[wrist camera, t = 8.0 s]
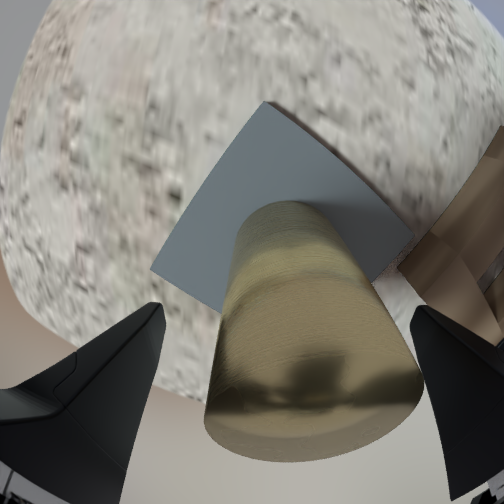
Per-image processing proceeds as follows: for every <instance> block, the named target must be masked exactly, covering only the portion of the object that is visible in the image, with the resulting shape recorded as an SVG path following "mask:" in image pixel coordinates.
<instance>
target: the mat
mask: <svg viewBox="0 0 504 504" xmlns="http://www.w3.org/2000/svg"><path fill="white" fill-rule="evenodd" d="M287 200H289V201H298V202H303V203H306V204H309V205H311V206H313V207H315V208H316V209H318V210H319V211H320V212H322V213H323V214H324V215H325V216H326V217H327V219H328V220H329V221H330V223H331V224H332V225H333V227H334V228H335V230H336V231H337V233H338V234H339V235H340V237H341V238H342V240H343V241H344V243H345V244H346V246H347V247H348V249H349V250H350V252H351V253H352V255H353V256H354V258H355V259H356V261H357V262H358V264H359V265H360V267H361V268H362V270H363V271H364V273H365V274H366V276H367V278H368V279H369V281H370V282H371V283H372V282H373V281H374V280H375V279H376V278H377V277H378V276H379V275H380V274H381V272H382V271H383V270H384V269H385V268H386V267H387V266H388V265H389V264H390V263H391V262H392V261H393V260H394V258H395V257H396V256H397V255H398V254H399V253H400V252H401V251H402V250H403V248H404V247H405V246H406V245H407V244H408V243H409V242H410V240H411V239H412V238H413V237H414V236H415V235H414V234H413V233H412V231H411V230H410V229H409V228H408V227H407V226H406V225H405V224H404V223H403V221H402V220H401V219H400V218H399V217H398V216H397V215H396V214H395V213H394V212H393V211H392V210H391V209H390V208H389V207H388V205H387V204H386V203H385V202H384V201H383V200H382V199H381V198H380V197H379V196H378V195H377V194H376V193H375V192H374V191H373V190H372V189H371V188H370V187H369V186H368V185H366V184H365V183H364V182H363V181H362V180H361V179H360V178H359V177H358V176H357V175H356V174H355V173H354V172H353V171H352V170H350V169H349V168H348V167H347V166H346V165H345V164H344V163H343V162H342V161H340V160H339V159H338V158H337V157H336V156H335V155H334V154H332V153H331V152H330V151H329V150H328V149H327V148H325V147H324V146H323V145H322V144H321V143H319V142H318V141H317V140H316V139H314V138H313V137H312V136H311V135H309V134H308V133H307V132H306V131H304V130H303V129H302V128H301V127H299V126H298V125H297V124H295V123H294V122H293V121H291V120H290V119H289V118H287V117H286V116H285V115H283V114H282V113H281V112H279V111H278V110H276V109H275V108H274V107H272V106H271V105H269V104H268V103H267V102H265V101H263V103H262V104H261V105H260V106H259V108H258V109H257V110H256V111H255V113H254V114H253V115H252V117H251V118H250V119H249V120H248V122H247V123H246V124H245V126H244V127H243V128H242V130H241V131H240V132H239V134H238V135H237V136H236V138H235V139H234V140H233V142H232V143H231V144H230V146H229V147H228V148H227V150H226V151H225V153H224V154H223V155H222V157H221V158H220V160H219V161H218V162H217V164H216V165H215V167H214V168H213V170H212V171H211V172H210V174H209V175H208V177H207V178H206V180H205V181H204V183H203V184H202V186H201V187H200V189H199V190H198V192H197V193H196V195H195V196H194V198H193V199H192V201H191V202H190V204H189V205H188V207H187V208H186V210H185V211H184V213H183V215H182V216H181V218H180V219H179V221H178V222H177V224H176V226H175V227H174V229H173V231H172V232H171V234H170V235H169V237H168V239H167V240H166V242H165V244H164V245H163V247H162V249H161V250H160V252H159V254H158V255H157V257H156V259H155V261H154V262H153V264H152V266H151V268H150V270H151V271H153V272H154V273H156V274H157V275H159V276H161V277H162V278H164V279H165V280H167V281H168V282H170V283H171V284H173V285H175V286H176V287H178V288H179V289H181V290H183V291H184V292H186V293H187V294H189V295H191V296H192V297H194V298H196V299H197V300H199V301H201V302H202V303H204V304H206V305H207V306H209V307H211V308H212V309H214V310H216V311H217V312H219V313H221V314H222V308H223V303H224V297H225V292H226V287H227V281H228V276H229V270H230V265H231V260H232V255H233V249H234V244H235V239H236V236H237V233H238V231H239V229H240V227H241V225H242V224H243V222H244V221H245V220H246V219H247V218H248V216H250V215H251V214H252V213H253V212H254V211H256V210H257V209H259V208H261V207H263V206H265V205H267V204H270V203H273V202H277V201H287Z"/></svg>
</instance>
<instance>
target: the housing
mask: <svg viewBox="0 0 504 504" xmlns="http://www.w3.org/2000/svg"><path fill="white" fill-rule="evenodd" d="M503 247H504V126H500V128H499V130H498V132H497V133H496V135H495V137H494V139H493V140H492V142H491V144H490V145H489V147H488V149H487V150H486V152H485V154H484V155H483V157H482V159H481V160H480V162H479V163H478V165H477V166H476V168H475V169H474V171H473V172H472V174H471V175H470V177H469V178H468V180H467V181H466V183H465V184H464V186H463V187H462V188H461V190H460V191H459V193H458V194H457V195H456V197H455V198H454V199H453V201H452V202H451V204H450V205H449V206H448V207H447V209H446V210H445V211H444V213H443V214H442V215H441V217H440V218H439V219H438V220H437V222H436V223H435V224H434V225H433V227H432V228H431V229H430V230H429V232H428V233H427V234H426V235H425V236H424V238H423V239H422V240H421V241H420V242H419V243H418V245H417V246H416V247H415V248H414V249H413V250H412V251H411V253H410V254H409V255H408V256H407V257H406V258H405V259H404V260H403V262H402V263H401V264H400V265H399V266H398V267H397V268H398V270H399V271H400V272H401V273H402V275H403V276H404V277H405V278H406V279H407V281H408V282H409V283H410V285H411V286H412V287H413V288H414V290H415V291H416V292H417V293H418V295H419V296H420V297H421V298H422V299H423V300H424V301H425V302H426V304H427V305H428V306H430V307H432V308H433V309H435V310H437V311H439V312H440V313H442V314H444V315H445V316H447V317H449V318H450V319H452V320H454V321H456V322H457V323H459V324H461V325H462V326H464V327H466V328H467V329H469V330H470V331H472V332H474V333H475V334H477V335H479V336H480V337H482V338H483V339H485V340H487V341H488V342H490V343H491V344H493V345H494V346H496V345H497V344H498V343H499V342H500V341H501V340H502V339H503V338H504V269H503V270H502V271H501V273H500V274H499V275H498V277H497V278H496V279H495V280H494V282H493V283H492V284H491V286H490V287H489V288H488V289H487V290H486V292H485V293H484V294H483V293H482V292H481V290H480V288H479V286H478V284H477V282H478V280H479V279H480V278H481V277H482V275H483V274H484V273H485V272H486V270H487V269H488V268H489V266H490V265H491V264H492V262H493V261H494V260H495V258H496V257H497V256H498V254H499V253H500V251H501V250H502V249H503Z"/></svg>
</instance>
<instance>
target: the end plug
mask: <svg viewBox="0 0 504 504" xmlns="http://www.w3.org/2000/svg"><path fill="white" fill-rule="evenodd" d="M423 390H424V378H423V375H422V373H421V371H420V369H419V367H418V365H417V363H416V361H415V359H414V357H413V355H412V353H411V351H410V349H409V348H408V346H407V344H406V342H405V340H404V338H403V337H402V335H401V333H400V331H399V329H398V328H397V326H396V324H395V322H394V321H393V319H392V317H391V315H390V314H389V312H388V310H387V309H386V307H385V305H384V304H383V302H382V300H381V299H380V297H379V295H378V294H377V292H376V290H375V289H374V287H373V286H372V284H371V282H370V281H369V279H368V278H367V276H366V274H365V273H364V271H363V270H362V268H361V267H360V265H359V264H358V262H357V261H356V259H355V258H354V256H353V255H352V253H351V252H350V250H349V249H348V247H347V246H346V244H345V243H344V241H343V240H342V238H341V237H340V235H339V234H338V233H337V231H336V230H335V228H334V227H333V225H332V224H331V223H330V221H329V220H328V219H327V217H326V216H325V215H324V214H323V213H322V212H320V211H319V210H318V209H316V208H315V207H313V206H311V205H309V204H306V203H303V202H298V201H289V200H287V201H277V202H273V203H270V204H267V205H265V206H263V207H261V208H259V209H257V210H256V211H254V212H253V213H252V214H251V215H250V216H248V218H247V219H246V220H245V221H244V222H243V224H242V225H241V227H240V229H239V231H238V233H237V236H236V239H235V244H234V249H233V255H232V260H231V265H230V270H229V276H228V281H227V287H226V292H225V297H224V303H223V308H222V314H221V319H220V325H219V331H218V336H217V342H216V348H215V354H214V360H213V365H212V371H211V377H210V383H209V389H208V396H207V402H206V409H205V415H204V425H205V429H206V430H207V432H208V434H209V435H210V436H211V438H212V439H213V440H214V441H215V442H217V443H218V444H219V445H221V446H222V447H224V448H225V449H228V450H229V451H231V452H234V453H236V454H239V455H242V456H245V457H249V458H252V459H258V460H263V461H271V462H305V461H314V460H319V459H325V458H330V457H334V456H338V455H341V454H345V453H348V452H351V451H354V450H356V449H359V448H361V447H364V446H366V445H368V444H370V443H372V442H374V441H376V440H378V439H379V438H381V437H383V436H384V435H386V434H388V433H389V432H390V431H392V430H393V429H395V428H396V427H397V426H398V425H400V424H401V423H402V422H403V421H404V420H405V419H406V418H407V417H408V416H409V415H410V414H411V413H412V411H413V410H414V409H415V407H416V406H417V404H418V403H419V401H420V399H421V396H422V394H423Z"/></svg>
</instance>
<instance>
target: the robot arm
mask: <svg viewBox="0 0 504 504" xmlns="http://www.w3.org/2000/svg"><path fill="white" fill-rule="evenodd" d="M165 330H166V320H165V315H164V310H163V306H162V304H161V303H158V302H149V303H147V304H146V305H144V306H143V307H141V308H140V309H138V310H137V311H135V312H134V313H132V314H130V315H129V316H127V317H126V318H124V319H123V320H121V321H120V322H118V323H117V324H115V325H114V326H112V327H111V328H109V329H108V330H106V331H105V332H103V333H102V334H100V335H99V336H97V337H96V338H94V339H93V340H91V341H90V342H88V343H87V344H85V345H84V346H82V347H81V348H79V349H78V350H77V351H76V352H73V353H72V354H70V355H69V356H67V357H66V358H64V359H62V360H61V361H59V362H58V363H56V364H55V365H53V366H51V367H49V368H48V369H46V370H44V371H43V372H41V373H39V374H37V375H35V376H34V377H32V378H30V379H28V380H26V381H24V382H22V383H21V384H19V385H17V386H15V387H12V388H8V389H0V504H119V502H120V497H121V493H122V488H123V485H124V480H125V477H126V472H127V468H128V464H129V460H130V456H131V452H132V449H133V445H134V442H135V438H136V435H137V431H138V428H139V425H140V421H141V418H142V414H143V411H144V408H145V404H146V401H147V398H148V395H149V392H150V389H151V386H152V382H153V379H154V376H155V373H156V370H157V367H158V363H159V358H160V353H161V349H162V344H163V339H164V334H165ZM410 332H411V335H412V339H413V343H414V347H415V351H416V355H417V359H418V363H419V366H420V369H421V372H422V375H423V378H424V381H425V384H426V387H427V391H428V394H429V397H430V401H431V404H432V408H433V411H434V415H435V419H436V423H437V427H438V430H439V435H440V440H441V444H442V449H443V454H444V459H445V465H446V471H447V478H448V485H449V492H450V499H451V501H453V500H455V499H457V498H459V497H461V496H463V495H465V494H466V493H468V492H470V491H472V490H473V489H475V488H477V487H478V486H480V485H482V484H483V483H485V482H486V481H487V482H488V485H489V488H488V489H487V490H486V491H484V492H482V493H481V494H479V495H478V496H476V497H475V498H473V499H472V501H471V504H504V338H503V339H502V340H501V341H500V342H499V343H498V344H497V345H496V346H494V345H493V344H491V343H490V342H488V341H487V340H485V339H483V338H482V337H480V336H479V335H477V334H475V333H474V332H472V331H470V330H469V329H467V328H466V327H464V326H462V325H461V324H459V323H457V322H456V321H454V320H452V319H450V318H449V317H447V316H445V315H444V314H442V313H440V312H439V311H437V310H435V309H433V308H432V307H430V306H428V305H419V306H417V308H416V310H415V312H414V315H413V317H412V319H411V322H410Z"/></svg>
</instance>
